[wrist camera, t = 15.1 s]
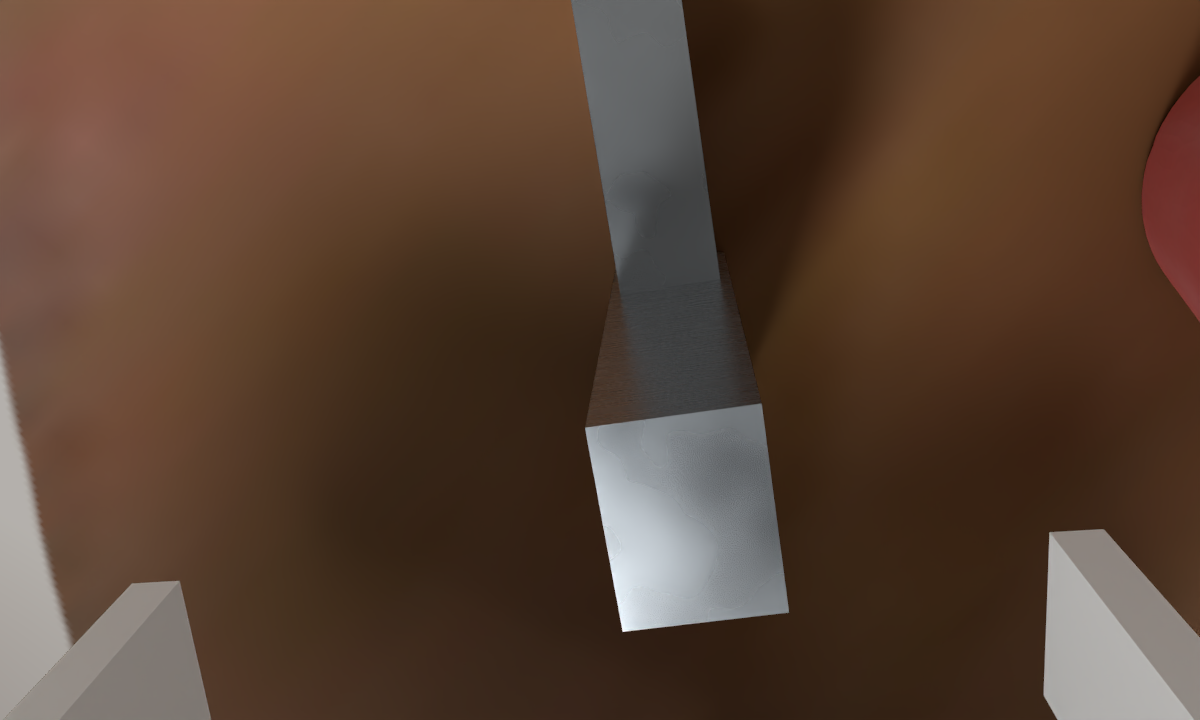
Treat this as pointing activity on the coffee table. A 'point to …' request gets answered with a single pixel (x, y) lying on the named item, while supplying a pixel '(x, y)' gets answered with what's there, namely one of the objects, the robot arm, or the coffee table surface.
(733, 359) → the crook
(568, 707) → the coffee table surface
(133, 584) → the robot arm
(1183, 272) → the flower pot
